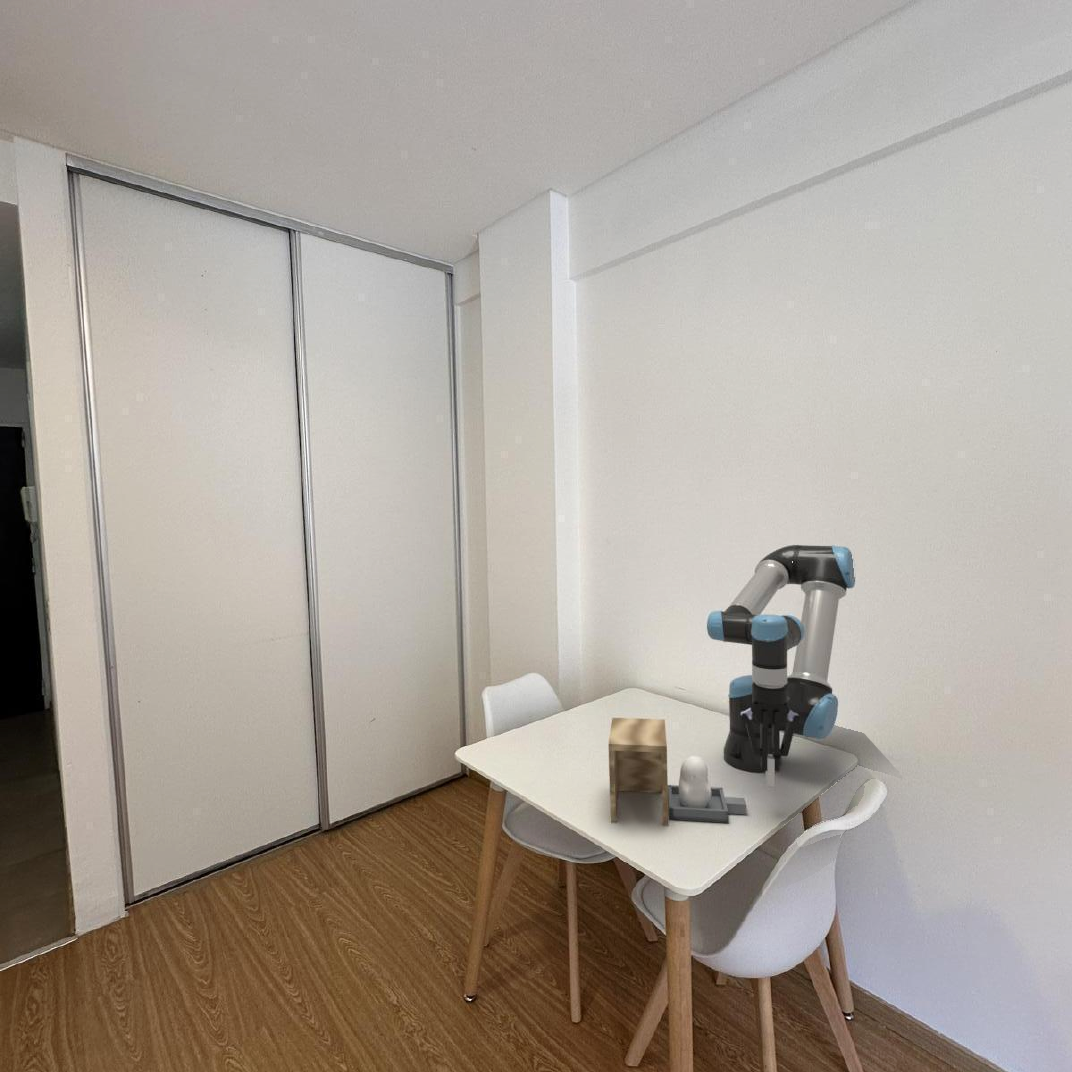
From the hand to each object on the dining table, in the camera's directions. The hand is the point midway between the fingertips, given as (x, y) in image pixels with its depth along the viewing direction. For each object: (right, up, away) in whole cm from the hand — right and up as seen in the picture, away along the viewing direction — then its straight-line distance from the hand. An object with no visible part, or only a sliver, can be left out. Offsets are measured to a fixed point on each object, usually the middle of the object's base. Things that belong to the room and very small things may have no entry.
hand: (770, 784), depth 137 cm
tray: (-14, -7, +3) cm, 16 cm away
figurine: (-16, -7, +4) cm, 18 cm away
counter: (-29, -8, +6) cm, 31 cm away
